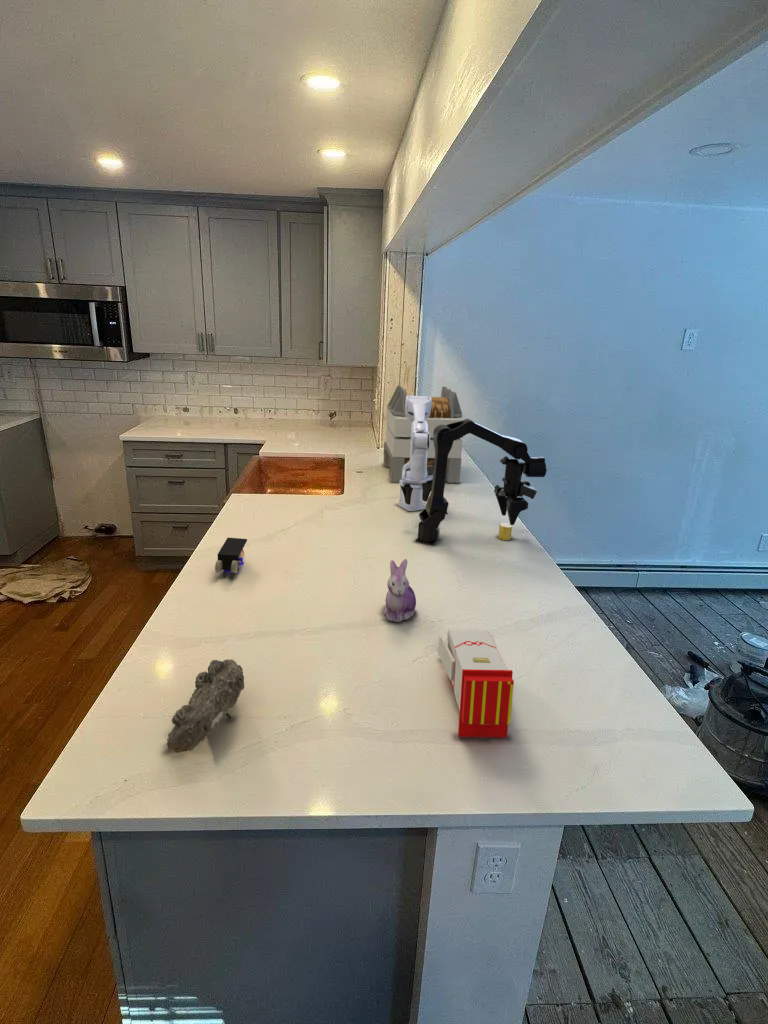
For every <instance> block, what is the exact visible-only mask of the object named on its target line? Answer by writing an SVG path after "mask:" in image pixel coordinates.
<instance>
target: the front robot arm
mask: <svg viewBox="0 0 768 1024" xmlns="http://www.w3.org/2000/svg"><path fill="white" fill-rule="evenodd" d="M469 434H471V435H473V436H475V437H477V438H479V439H481V440H483V441H486V442H488V443H490V444H492V445H494V446H496V447H498V448H500V449H501V450H503V451H504V452H505V453H507V454H508V455H509V456H511V457H512V458H510V457H508V456H507V455H505V456H504V457H503V458H501V459H500V460H499V463H501V464H502V465H505V469H504V477H501V481H502V482H503V484H496V485H495V486H494V489H493V493H494V495H495V497H496V500H497V504H498V507H499V511H500V513H501V516H506V515H507V516H508V521H509V524H510V525H512V526H514V525H515V523H516V521H517V519H518V517H519V515H520V513H522V512H523V511H526V510H528V509H529V502H528V501H527V500H526V499H525V498H524V496H525V497H527V498H530V499H531V500H534V499H535V497H536V495H537V493H538V489H536V488H535V487H533V486H532V485H531V482H530V481H528V480H524V481H523V475H525V477H526V478H545V476H546V475H547V464H546V458H545V457H544V456H537V457H536V456H535V457H534V456H531V455H530V454H529V452H528V450H529V448H528V445H527V444H526V443H525V442H523V441H522V440H521V439H519V438H516V437H513V436H508V435H502V434H500V433H498V432H496V431H494V430H492V429H490V428H488V427H485V426H484V425H482V424H479V423H477V422H475V421H473V420H472V419H470V418H464V420H462V421H459V422H455V423H450V424H448V425H439V426H437V427H436V428H435V429H434V431H433V439H434V447H435V461H434V466H433V472H432V475H433V481H432V490H431V492H430V494H429V497H428V500H427V502H426V504H425V507H426V508H425V509H422V510H421V511H420V513H419V512H418V517H419V520H420V521H419V522H418V527H417V538H416V539H415V542H417V543H421V544H425V545H430V546H435V544H436V543H437V542H438V541H439V540H440V532H441V528H439V526H440V524H441V522H443V521H444V520H445V519H446V516H448V508H449V501H448V500H447V498H446V497H445V495H444V494H445V487H446V479H445V478H446V469H447V460H448V454H449V452H450V450H451V448H452V445H453V442H454V441H455V440H457V439H462V438H461V437H463V438H464V437H465V436H466V435H469Z"/></svg>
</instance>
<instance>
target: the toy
mask: <svg viewBox="0 0 768 1024" xmlns="http://www.w3.org/2000/svg"><path fill="white" fill-rule="evenodd" d="M446 640H447V643H446V641H445V639H444V636H443V635H442V634H439V637H438V646H437V656H438V657H439V659H440V661H441V663H442V666H443V668H444V670H445V672H446V674H447V677H448V679H449V681H450V684H451V687H452V690H453V693H454V697H455V701H456V705H457V708H458V711H459V714H458V715H459V716H458V730H457V731H458V732H457V737H458V738H508V731H509V726H510V725H511V717H512V707H513V697H514V696H513V695H514V684H515V680H514V679H513V673H514V671H513V670H512V669H508V667H507V665H506V662H505V661H504V659H503V658H502V655H501V653H500V651H499V649H498V647H497V643H496V639H495V637H494V635H493V634H491V632H490V631H489V629H467V628H466V629H465V628H463V629H461V628H460V629H459V628H448V630H447V639H446Z"/></svg>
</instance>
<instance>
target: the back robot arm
mask: <svg viewBox="0 0 768 1024" xmlns="http://www.w3.org/2000/svg"><path fill="white" fill-rule="evenodd" d="M431 397H432V396H431V395H428V396H427V395H408V394H407V396H406V401H405V415H406V418H408V419H410V422H411V442H410V461H409V462H408V463H406V464H405V465H404V466H403V470H402V480H400V482H398V484H399V500H398V502H397V504H396V505H397V506H399V507H401V508H403V509H404V510H406V511H408V512H416V511H423V510H424V509H425V508H426V506H424V505H423V502H426V503H427V501H428V498H429V496H430V494H431V490H432V481H433V474H431V475H430V474H429V475H428V466H427V455H428V450H429V447H430V434H429V432H428V424H427V422H426V421H425V419H427V418H429V415H430V411H431V402H432V400H431ZM427 447H428V449H427Z"/></svg>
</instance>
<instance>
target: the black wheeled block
mask: <svg viewBox="0 0 768 1024" xmlns="http://www.w3.org/2000/svg"><path fill="white" fill-rule="evenodd" d="M247 542H248V538H240V537H226V539H225V541H224V543H223V544H222V546H221V547H220V549H219V551H218V552H217V560H216V562H215V564H214V572H215V573H221V577H222V578H224V577H225V576H226V574H227V573H230V574H231V573H232V574H231V578H234V577H235V575H236V573H237V572H239V571H240V567H242V566H243V565H244V564H245V562H244V558H245V551H244V547H245V546H246V544H247Z"/></svg>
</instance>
